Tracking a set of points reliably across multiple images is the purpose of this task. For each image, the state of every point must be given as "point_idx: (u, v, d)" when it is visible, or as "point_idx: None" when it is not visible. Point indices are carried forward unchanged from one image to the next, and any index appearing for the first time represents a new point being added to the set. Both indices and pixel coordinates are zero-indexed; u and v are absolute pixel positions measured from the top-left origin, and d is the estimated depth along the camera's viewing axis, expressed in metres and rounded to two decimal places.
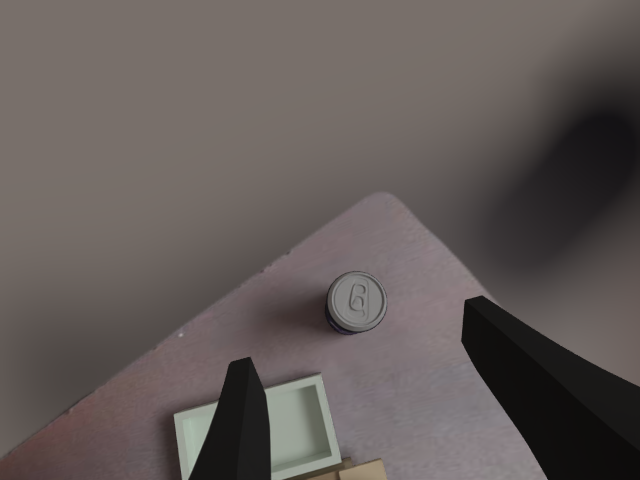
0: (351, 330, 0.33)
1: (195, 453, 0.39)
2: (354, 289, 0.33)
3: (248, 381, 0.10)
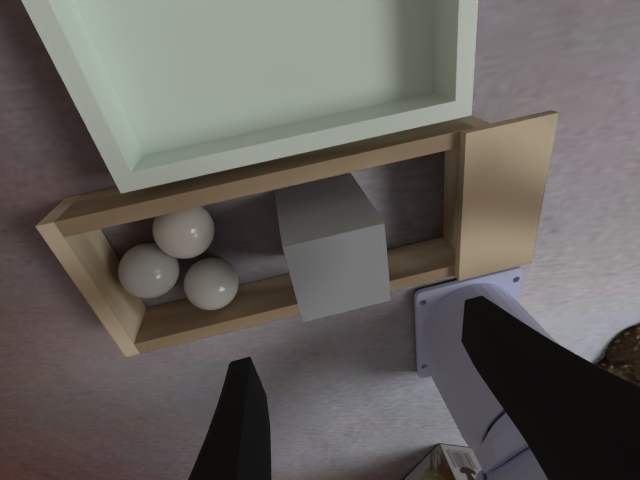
0: None
1: (111, 81, 0.15)
2: None
3: (248, 381, 0.10)
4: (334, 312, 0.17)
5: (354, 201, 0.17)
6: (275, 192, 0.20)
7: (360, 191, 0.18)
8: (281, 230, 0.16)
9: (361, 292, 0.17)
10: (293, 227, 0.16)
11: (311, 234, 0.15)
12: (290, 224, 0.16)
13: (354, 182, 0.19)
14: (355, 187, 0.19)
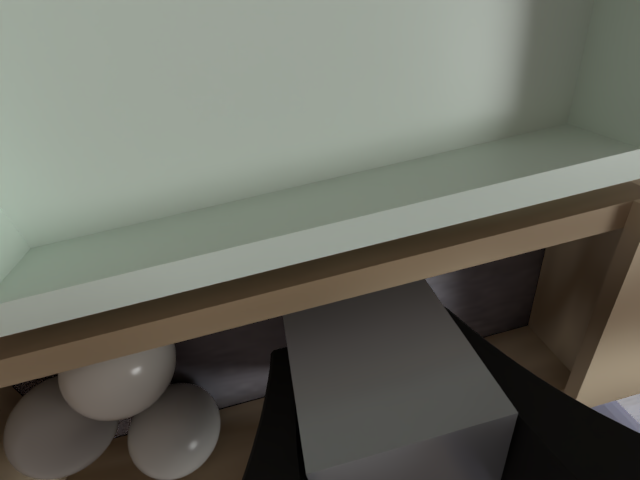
0: None
1: None
2: None
3: None
4: None
5: (431, 328, 0.09)
6: None
7: (435, 300, 0.10)
8: (299, 407, 0.08)
9: None
10: (323, 401, 0.08)
11: (364, 433, 0.07)
12: (315, 387, 0.08)
13: None
14: (422, 288, 0.11)
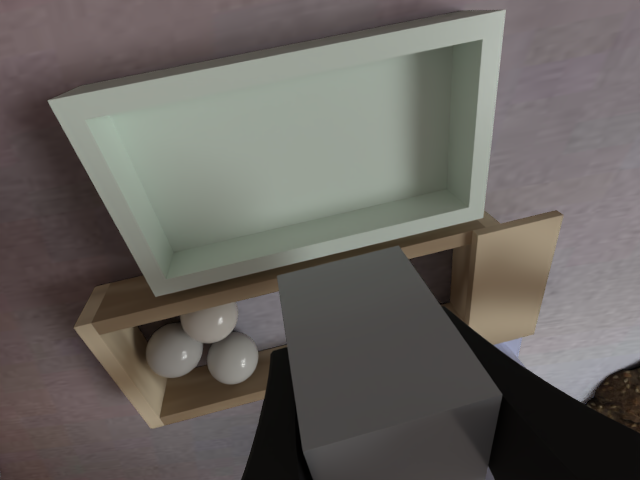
0: None
1: (146, 191, 0.16)
2: None
3: None
4: None
5: (423, 318, 0.10)
6: (279, 280, 0.12)
7: (427, 292, 0.11)
8: (296, 391, 0.09)
9: None
10: (319, 385, 0.09)
11: (358, 414, 0.08)
12: (312, 373, 0.09)
13: (410, 268, 0.12)
14: (415, 281, 0.11)
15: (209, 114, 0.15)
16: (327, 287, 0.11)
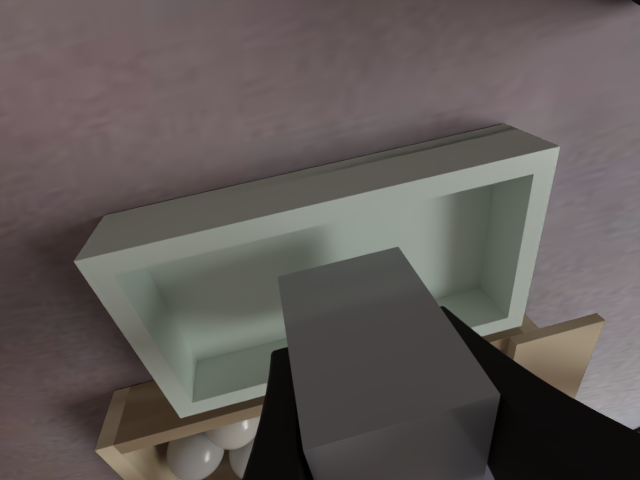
0: None
1: (170, 309, 0.15)
2: None
3: None
4: None
5: (422, 319, 0.10)
6: (280, 281, 0.12)
7: (426, 293, 0.11)
8: (297, 391, 0.09)
9: None
10: (319, 385, 0.09)
11: (358, 413, 0.08)
12: (312, 373, 0.09)
13: (410, 269, 0.12)
14: (415, 282, 0.11)
15: None
16: (327, 288, 0.12)
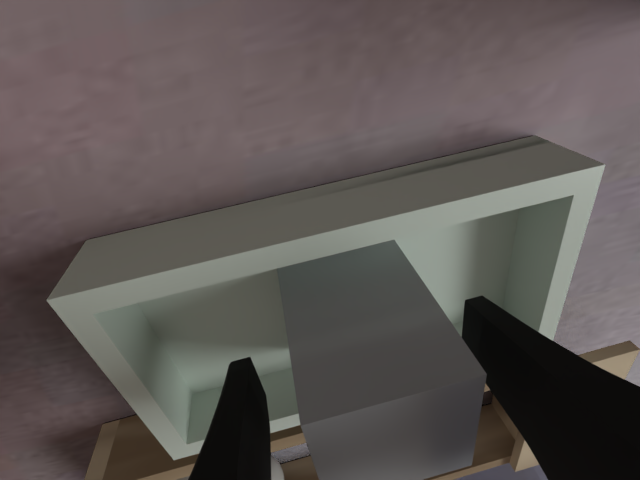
0: None
1: (162, 340, 0.14)
2: None
3: (248, 381, 0.10)
4: None
5: (415, 306, 0.10)
6: (279, 271, 0.13)
7: (419, 282, 0.11)
8: (295, 372, 0.09)
9: (428, 462, 0.10)
10: (316, 366, 0.09)
11: (352, 392, 0.08)
12: (310, 355, 0.09)
13: (404, 260, 0.12)
14: (408, 272, 0.12)
15: None
16: (325, 277, 0.12)
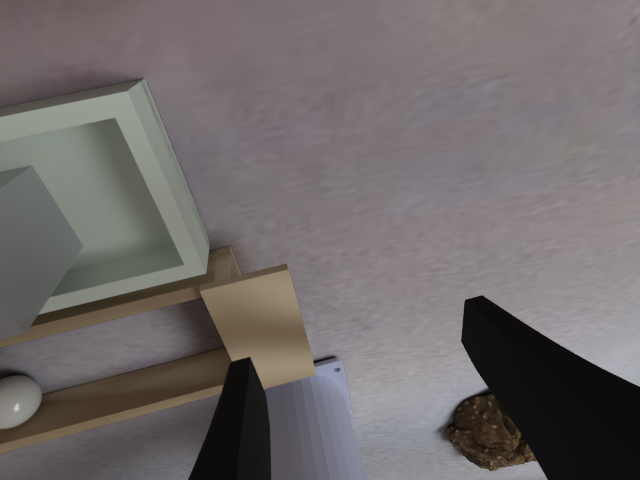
0: None
1: None
2: None
3: (248, 381, 0.10)
4: None
5: None
6: None
7: None
8: None
9: None
10: None
11: None
12: None
13: (13, 177, 0.15)
14: (2, 184, 0.14)
15: None
16: None
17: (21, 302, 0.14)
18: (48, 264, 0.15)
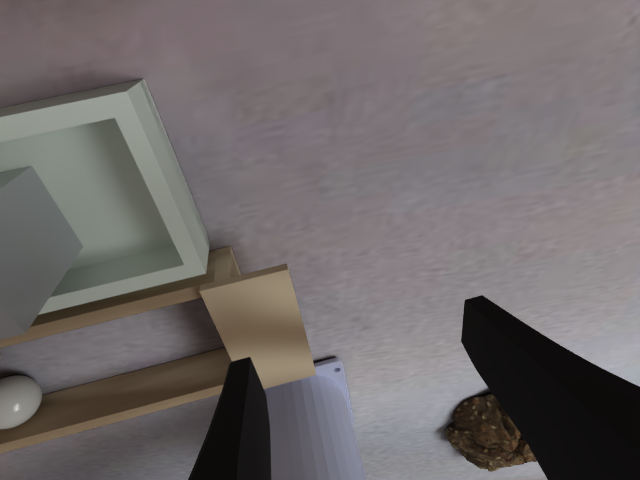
0: None
1: None
2: None
3: (248, 381, 0.10)
4: None
5: None
6: None
7: None
8: None
9: None
10: None
11: None
12: None
13: (13, 177, 0.15)
14: (2, 184, 0.14)
15: None
16: None
17: (21, 302, 0.14)
18: (48, 264, 0.15)
